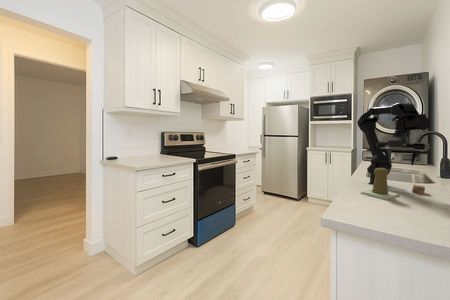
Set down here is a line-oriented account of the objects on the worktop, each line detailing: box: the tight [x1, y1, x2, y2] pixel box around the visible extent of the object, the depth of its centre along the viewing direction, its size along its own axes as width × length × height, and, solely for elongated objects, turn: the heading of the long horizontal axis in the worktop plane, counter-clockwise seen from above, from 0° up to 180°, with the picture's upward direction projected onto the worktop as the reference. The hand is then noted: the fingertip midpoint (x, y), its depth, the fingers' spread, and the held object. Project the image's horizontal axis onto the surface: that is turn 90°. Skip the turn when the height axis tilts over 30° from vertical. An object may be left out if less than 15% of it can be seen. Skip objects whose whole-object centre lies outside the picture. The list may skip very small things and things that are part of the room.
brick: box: [411, 184, 426, 195], centre depth 104 cm, size 4×4×3 cm
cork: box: [372, 168, 389, 195], centre depth 100 cm, size 6×6×11 cm
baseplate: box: [360, 188, 401, 201], centre depth 100 cm, size 11×11×1 cm
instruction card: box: [387, 185, 417, 195], centre depth 108 cm, size 12×9×1 cm
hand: (400, 163), depth 106 cm, fingers open, 9 cm apart
